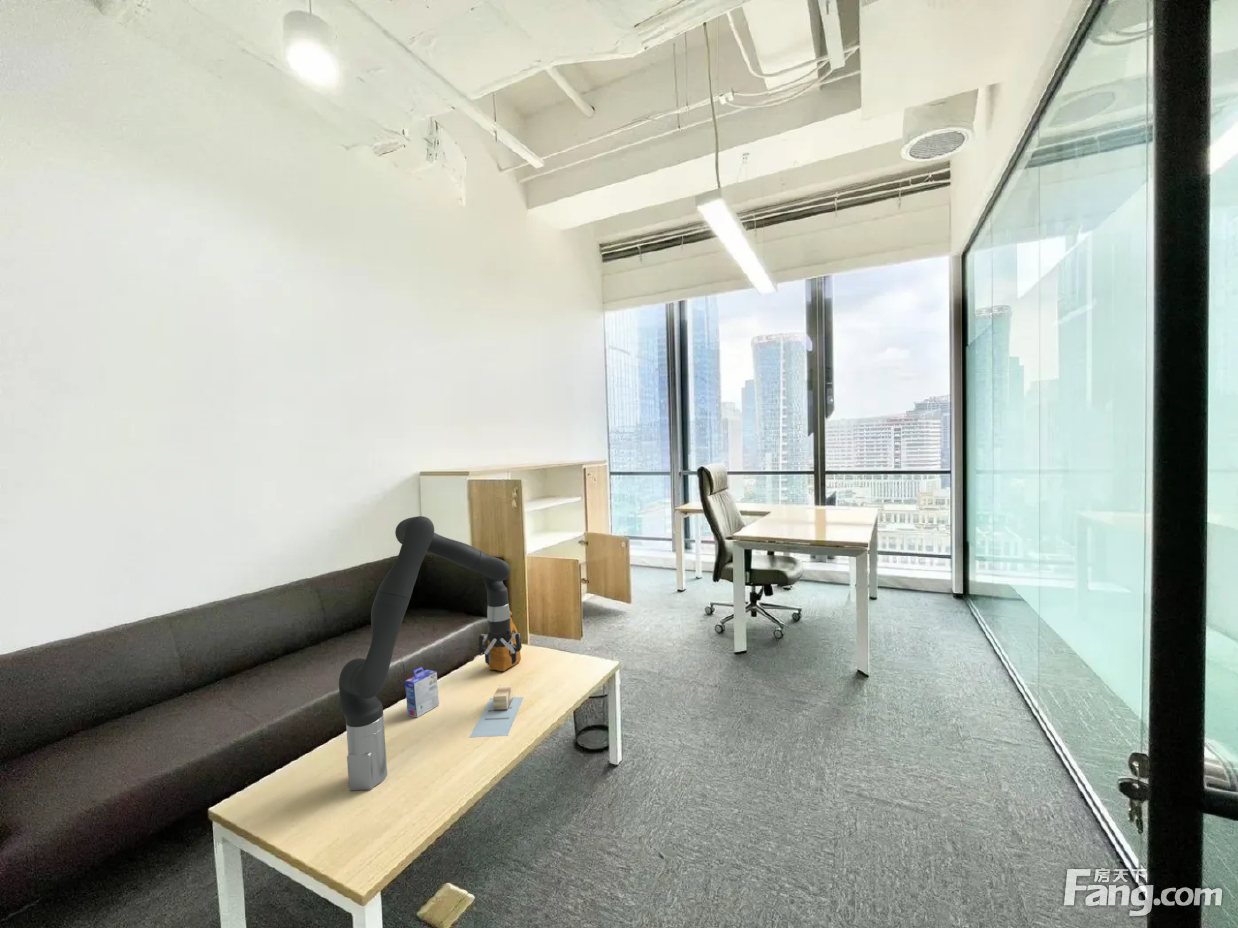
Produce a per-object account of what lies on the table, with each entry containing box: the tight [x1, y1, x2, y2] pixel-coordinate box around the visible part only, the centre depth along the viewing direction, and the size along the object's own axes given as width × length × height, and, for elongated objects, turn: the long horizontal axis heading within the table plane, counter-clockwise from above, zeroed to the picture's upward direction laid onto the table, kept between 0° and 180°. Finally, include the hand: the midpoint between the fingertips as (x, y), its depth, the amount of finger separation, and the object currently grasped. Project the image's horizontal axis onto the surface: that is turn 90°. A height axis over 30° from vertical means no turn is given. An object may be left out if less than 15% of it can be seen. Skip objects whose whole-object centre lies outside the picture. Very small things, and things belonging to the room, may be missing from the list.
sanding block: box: [492, 684, 514, 711], centre depth 173 cm, size 8×4×5 cm, turn 179°
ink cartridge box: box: [404, 666, 440, 719], centre depth 175 cm, size 10×6×14 cm, turn 151°
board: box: [469, 696, 524, 738], centre depth 166 cm, size 24×12×2 cm, turn 179°
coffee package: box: [487, 610, 522, 672], centre depth 208 cm, size 10×12×22 cm
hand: (501, 663), depth 173 cm, fingers open, 8 cm apart
